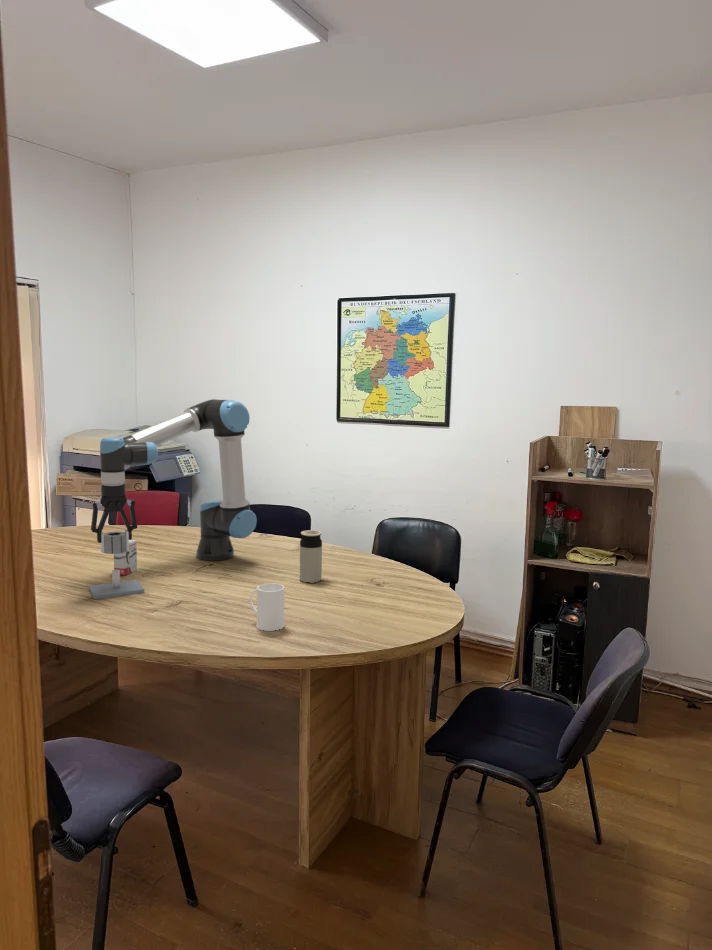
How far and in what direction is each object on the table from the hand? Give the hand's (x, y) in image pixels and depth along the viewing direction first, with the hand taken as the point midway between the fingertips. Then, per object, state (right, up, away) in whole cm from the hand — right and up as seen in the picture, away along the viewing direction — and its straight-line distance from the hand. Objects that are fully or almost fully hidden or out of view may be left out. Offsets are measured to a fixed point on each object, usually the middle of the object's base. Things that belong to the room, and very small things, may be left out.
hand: (114, 550), depth 223 cm
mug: (+55, -20, -26) cm, 64 cm away
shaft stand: (0, -14, +2) cm, 14 cm away
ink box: (-5, -11, +24) cm, 27 cm away
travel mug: (+65, -13, +19) cm, 69 cm away
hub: (0, 0, 0) cm, 0 cm away
